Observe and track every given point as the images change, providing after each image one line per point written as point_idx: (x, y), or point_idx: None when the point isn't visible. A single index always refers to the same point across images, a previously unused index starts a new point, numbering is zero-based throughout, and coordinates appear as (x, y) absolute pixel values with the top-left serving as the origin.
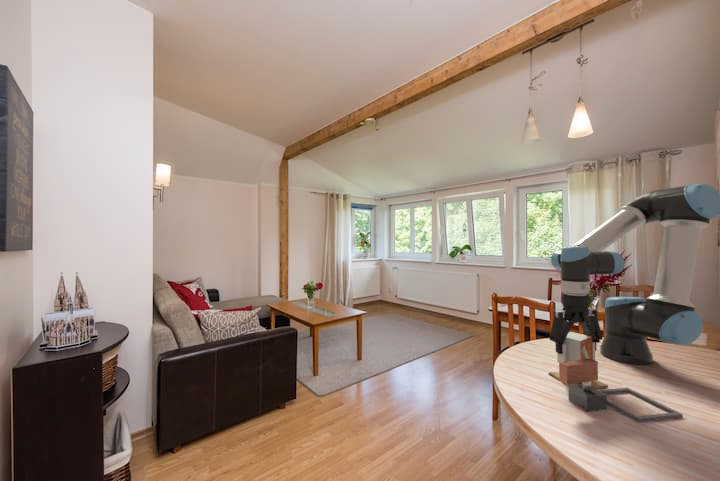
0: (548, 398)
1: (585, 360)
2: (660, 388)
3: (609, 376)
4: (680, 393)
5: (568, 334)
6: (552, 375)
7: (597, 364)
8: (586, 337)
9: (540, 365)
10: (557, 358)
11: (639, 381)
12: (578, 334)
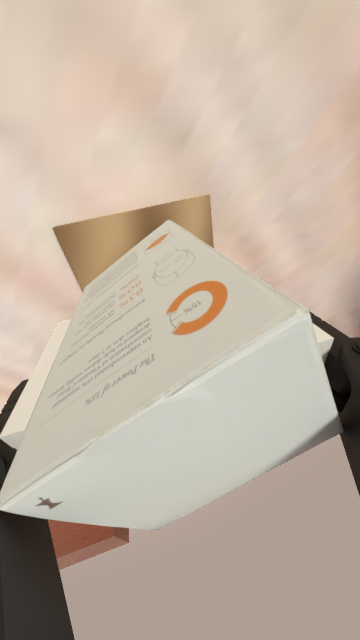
0: (8, 396)
1: (85, 552)
2: (336, 307)
3: (289, 238)
4: (346, 325)
5: (158, 441)
6: (65, 251)
7: (127, 528)
8: (273, 465)
9: (35, 71)
10: (53, 332)
11: (335, 271)
12: (282, 419)
